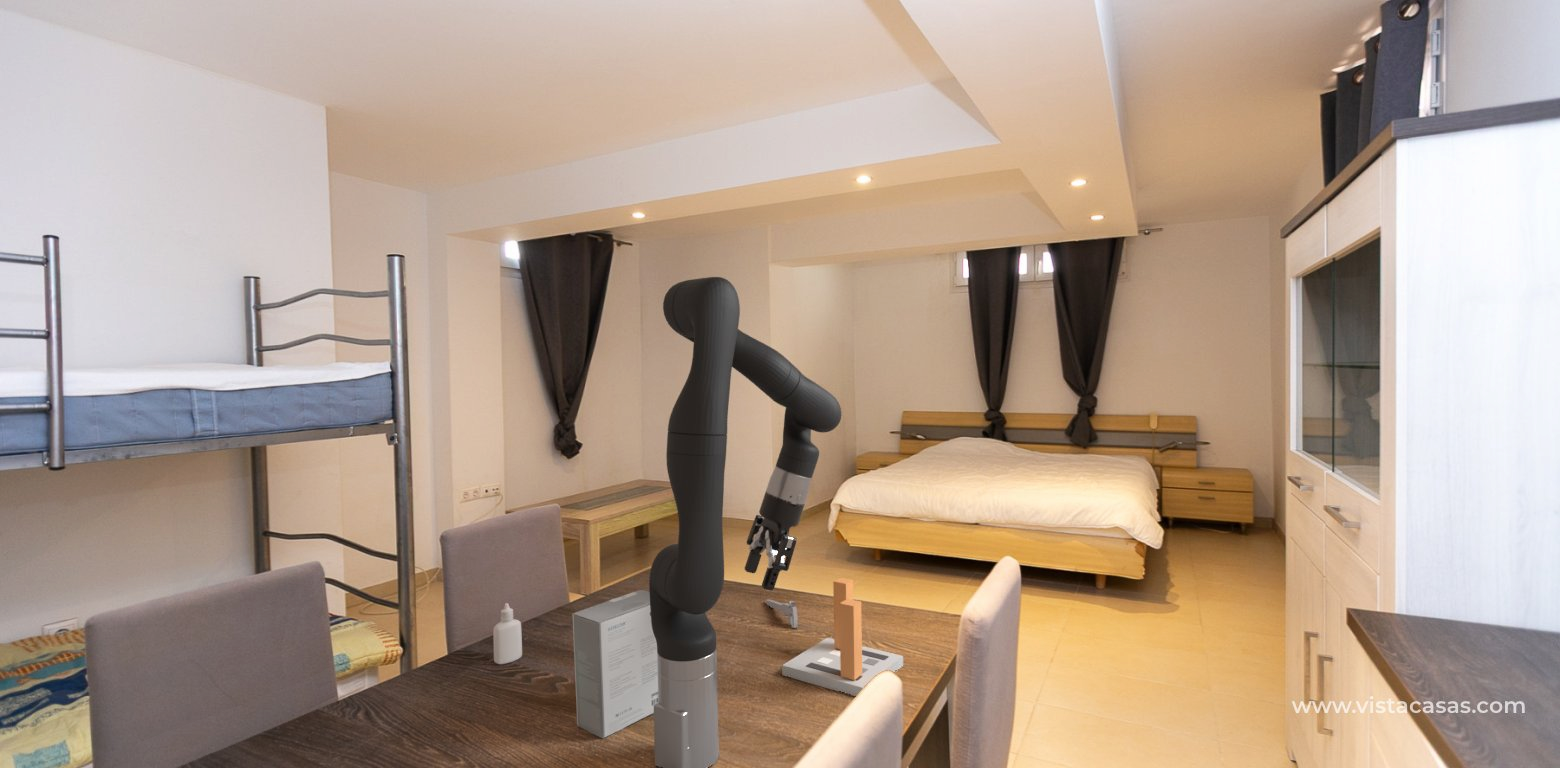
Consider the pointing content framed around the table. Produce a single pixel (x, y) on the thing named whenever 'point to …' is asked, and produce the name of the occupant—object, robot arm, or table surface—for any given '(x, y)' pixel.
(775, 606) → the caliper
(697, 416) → the robot arm
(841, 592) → the switch tab
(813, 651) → the switch panel
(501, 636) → the eye dropper bottle
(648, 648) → the hard drive box
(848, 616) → the switch tab
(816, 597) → the table surface
